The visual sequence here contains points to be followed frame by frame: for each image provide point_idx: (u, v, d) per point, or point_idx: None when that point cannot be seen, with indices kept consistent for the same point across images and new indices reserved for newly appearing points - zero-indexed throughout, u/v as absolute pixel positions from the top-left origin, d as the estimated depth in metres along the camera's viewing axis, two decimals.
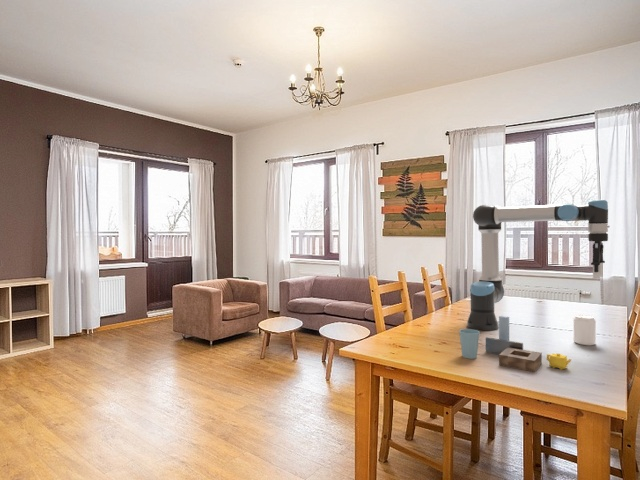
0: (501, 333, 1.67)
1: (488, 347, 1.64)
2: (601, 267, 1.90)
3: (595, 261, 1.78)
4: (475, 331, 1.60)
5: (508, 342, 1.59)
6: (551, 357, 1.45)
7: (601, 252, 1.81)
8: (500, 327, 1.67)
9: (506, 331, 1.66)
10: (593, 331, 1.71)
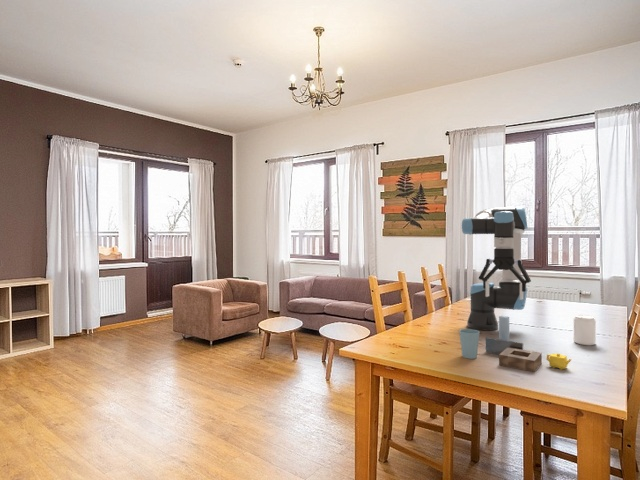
0: (501, 333, 1.67)
1: (488, 347, 1.64)
2: None
3: None
4: (475, 331, 1.60)
5: (508, 342, 1.59)
6: (551, 357, 1.45)
7: (493, 269, 1.68)
8: (500, 327, 1.67)
9: (506, 331, 1.66)
10: (593, 331, 1.71)
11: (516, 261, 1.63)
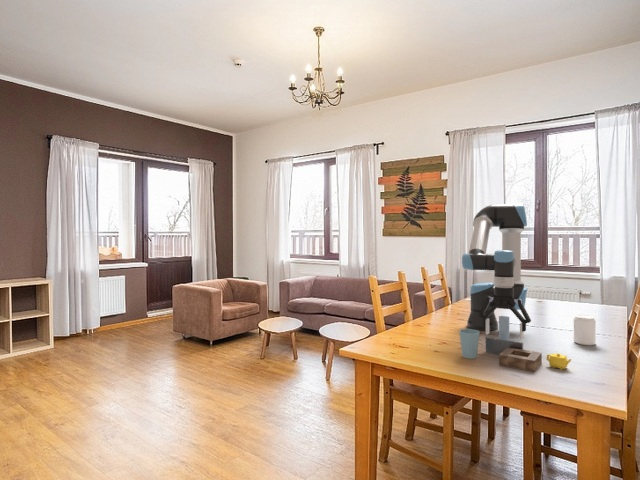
0: (501, 333, 1.67)
1: (488, 347, 1.64)
2: None
3: None
4: (475, 331, 1.60)
5: (508, 342, 1.59)
6: (551, 357, 1.45)
7: (493, 307, 1.68)
8: (500, 327, 1.67)
9: (506, 331, 1.66)
10: (593, 331, 1.71)
11: (516, 300, 1.64)
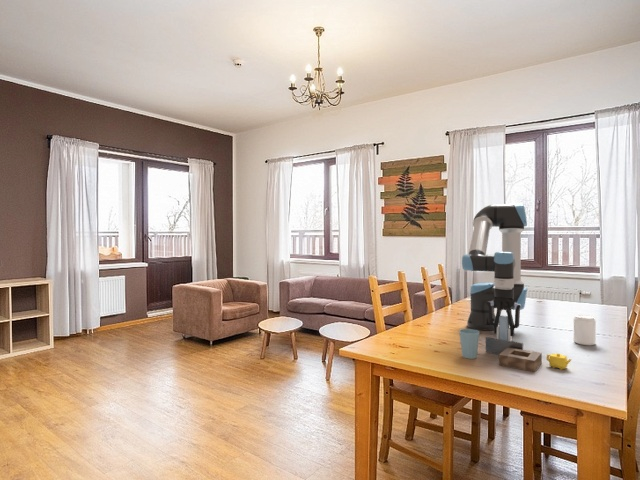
0: (501, 333, 1.67)
1: (488, 347, 1.64)
2: None
3: None
4: (475, 331, 1.60)
5: (508, 342, 1.59)
6: (551, 357, 1.45)
7: (497, 311, 1.68)
8: (500, 327, 1.67)
9: (506, 331, 1.66)
10: (593, 331, 1.71)
11: (516, 304, 1.64)
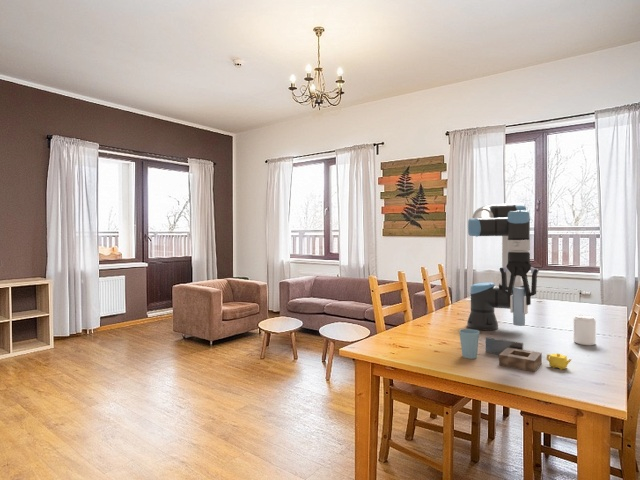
0: (516, 306, 1.48)
1: (488, 347, 1.64)
2: None
3: None
4: (475, 331, 1.60)
5: (508, 342, 1.59)
6: (551, 357, 1.45)
7: (511, 277, 1.50)
8: (514, 299, 1.49)
9: (521, 304, 1.47)
10: (593, 331, 1.71)
11: (532, 269, 1.46)
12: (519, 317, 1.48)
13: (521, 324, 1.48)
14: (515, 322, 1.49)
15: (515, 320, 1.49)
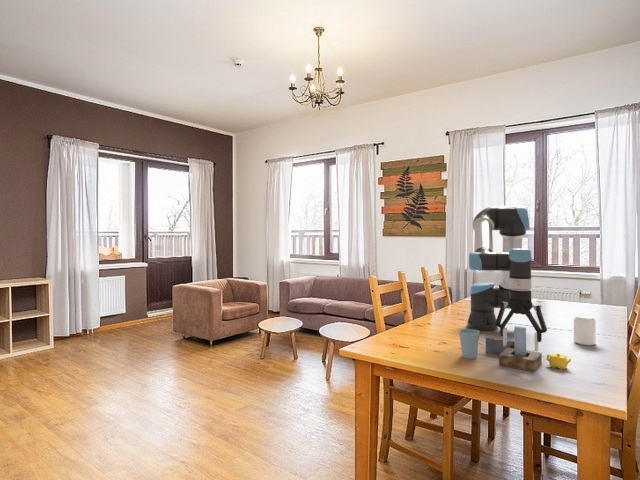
0: (517, 346, 1.48)
1: (488, 347, 1.64)
2: None
3: None
4: (475, 331, 1.60)
5: (508, 342, 1.59)
6: (551, 357, 1.45)
7: (510, 313, 1.50)
8: (516, 339, 1.48)
9: (523, 344, 1.47)
10: (593, 331, 1.71)
11: (534, 306, 1.45)
12: None
13: None
14: None
15: None
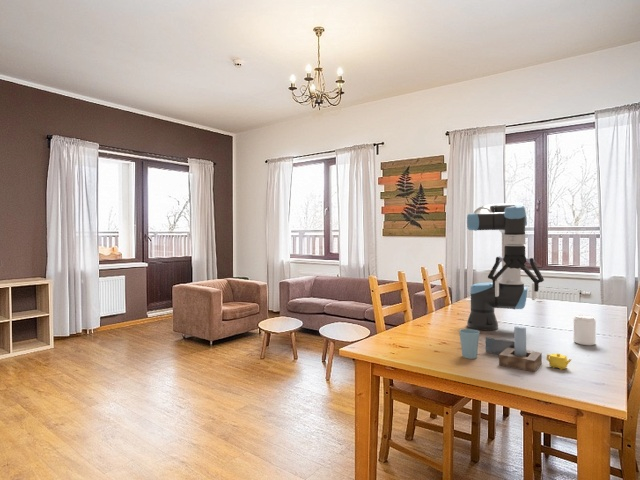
0: (517, 346, 1.48)
1: (488, 347, 1.64)
2: None
3: None
4: (475, 331, 1.60)
5: (508, 342, 1.59)
6: (551, 357, 1.45)
7: (503, 267, 1.59)
8: (516, 339, 1.48)
9: (523, 344, 1.47)
10: (593, 331, 1.71)
11: (528, 259, 1.54)
12: None
13: None
14: None
15: None
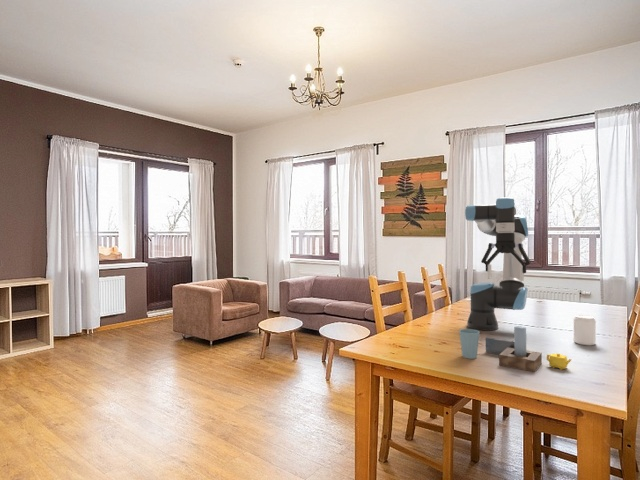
0: (517, 346, 1.48)
1: (488, 347, 1.64)
2: None
3: None
4: (475, 331, 1.60)
5: (508, 342, 1.59)
6: (551, 357, 1.45)
7: (495, 252, 1.77)
8: (516, 339, 1.48)
9: (523, 344, 1.47)
10: (593, 331, 1.71)
11: (517, 244, 1.72)
12: None
13: None
14: None
15: None
